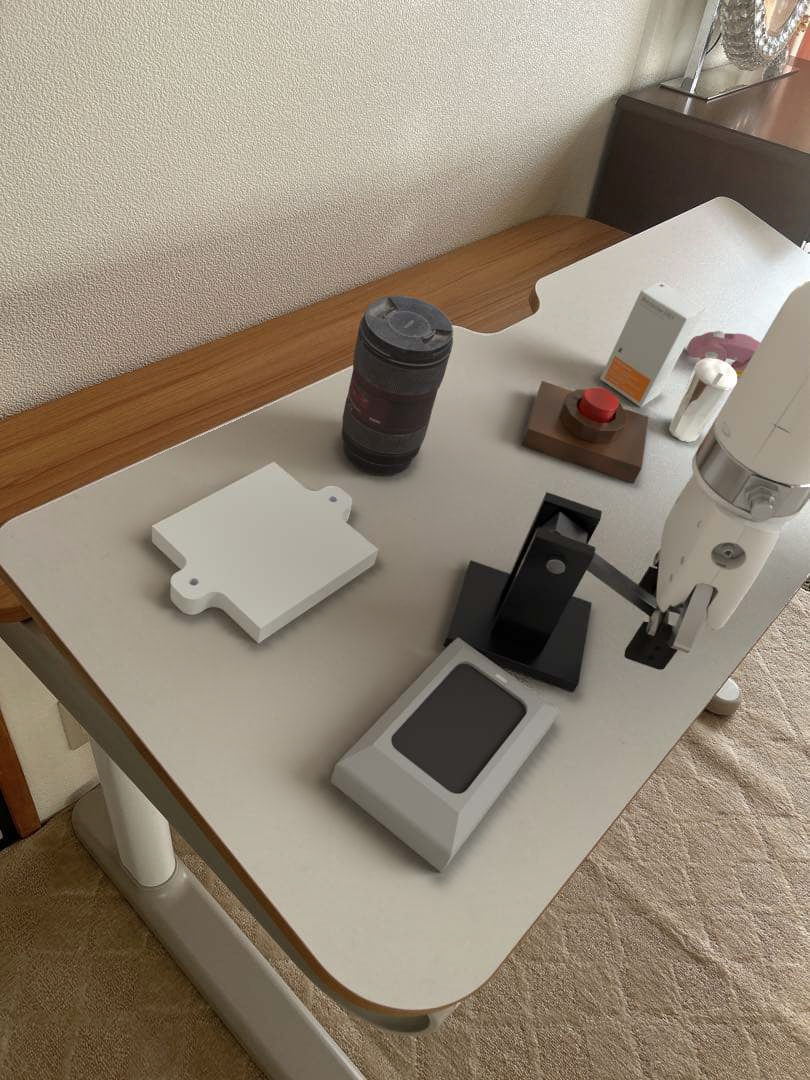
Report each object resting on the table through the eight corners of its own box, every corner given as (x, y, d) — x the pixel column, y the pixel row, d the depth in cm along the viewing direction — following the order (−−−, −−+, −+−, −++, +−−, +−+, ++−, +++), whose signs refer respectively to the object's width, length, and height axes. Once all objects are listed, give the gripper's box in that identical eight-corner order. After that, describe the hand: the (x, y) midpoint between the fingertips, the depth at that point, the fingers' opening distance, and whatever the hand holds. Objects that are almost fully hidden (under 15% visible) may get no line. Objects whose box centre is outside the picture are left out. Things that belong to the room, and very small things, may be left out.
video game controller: (679, 373, 108) (703, 345, 102) (684, 341, 110) (709, 312, 103) (755, 395, 109) (785, 368, 102) (760, 363, 110) (789, 334, 103)
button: (613, 407, 92) (620, 394, 90) (610, 427, 89) (616, 414, 88) (580, 396, 92) (586, 382, 90) (576, 415, 89) (582, 402, 88)
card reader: (338, 755, 58) (461, 626, 68) (330, 781, 61) (450, 653, 70) (455, 849, 55) (566, 700, 65) (441, 872, 58) (550, 726, 68)
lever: (656, 601, 71) (679, 587, 69) (652, 648, 67) (676, 634, 66) (542, 515, 68) (562, 498, 66) (531, 559, 64) (553, 543, 63)
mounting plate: (232, 661, 66) (234, 646, 64) (125, 556, 70) (124, 540, 69) (394, 550, 77) (398, 536, 75) (292, 466, 81) (294, 450, 80)
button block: (640, 432, 96) (655, 403, 93) (633, 483, 90) (649, 454, 87) (535, 396, 96) (547, 366, 94) (521, 445, 90) (533, 414, 87)
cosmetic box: (597, 380, 101) (639, 289, 92) (617, 368, 104) (659, 278, 95) (641, 409, 99) (687, 318, 90) (659, 396, 101) (706, 307, 93)
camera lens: (320, 457, 83) (345, 322, 72) (359, 414, 88) (388, 282, 77) (396, 495, 81) (433, 362, 71) (431, 448, 87) (471, 319, 76)
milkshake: (658, 439, 96) (699, 365, 88) (666, 413, 99) (706, 339, 92) (698, 456, 95) (742, 382, 88) (705, 429, 99) (748, 356, 92)
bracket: (587, 610, 77) (646, 508, 67) (573, 692, 70) (636, 591, 61) (467, 568, 77) (509, 460, 68) (442, 646, 71) (485, 538, 62)
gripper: (821, 577, 51) (686, 738, 64) (806, 409, 63) (695, 574, 76) (696, 534, 51) (587, 702, 64) (705, 375, 63) (611, 545, 76)
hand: (646, 631), depth 70 cm, fingers closed on lever, 5 cm apart
